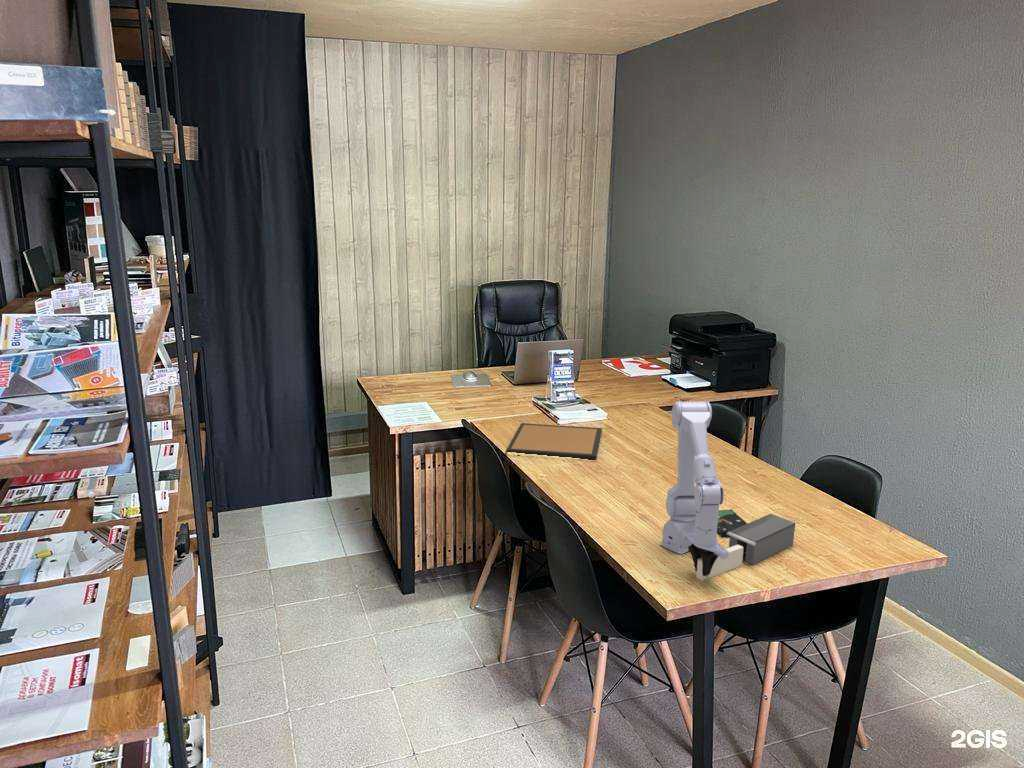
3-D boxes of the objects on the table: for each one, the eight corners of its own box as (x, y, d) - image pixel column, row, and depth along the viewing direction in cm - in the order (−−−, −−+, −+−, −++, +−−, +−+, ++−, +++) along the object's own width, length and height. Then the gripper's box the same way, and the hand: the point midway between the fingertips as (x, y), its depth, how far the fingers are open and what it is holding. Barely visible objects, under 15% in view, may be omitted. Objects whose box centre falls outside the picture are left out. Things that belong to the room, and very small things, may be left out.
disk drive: (753, 537, 228) (731, 516, 242) (754, 529, 227) (731, 508, 241) (721, 540, 226) (700, 518, 240) (722, 531, 225) (701, 510, 239)
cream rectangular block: (701, 580, 201) (703, 562, 199) (696, 577, 202) (697, 559, 201) (741, 565, 209) (743, 547, 208) (736, 562, 211) (737, 544, 209)
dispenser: (751, 566, 209) (753, 542, 207) (725, 554, 215) (727, 531, 213) (793, 545, 221) (796, 523, 219) (767, 535, 228) (770, 513, 226)
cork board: (506, 456, 295) (596, 462, 289) (506, 449, 294) (596, 455, 288) (521, 429, 329) (601, 434, 323) (521, 423, 328) (602, 428, 322)
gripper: (738, 532, 195) (733, 580, 198) (696, 513, 206) (692, 558, 210) (719, 539, 191) (715, 587, 194) (677, 518, 202) (674, 564, 206)
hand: (702, 572), depth 202 cm, fingers closed on cream rectangular block, 2 cm apart
